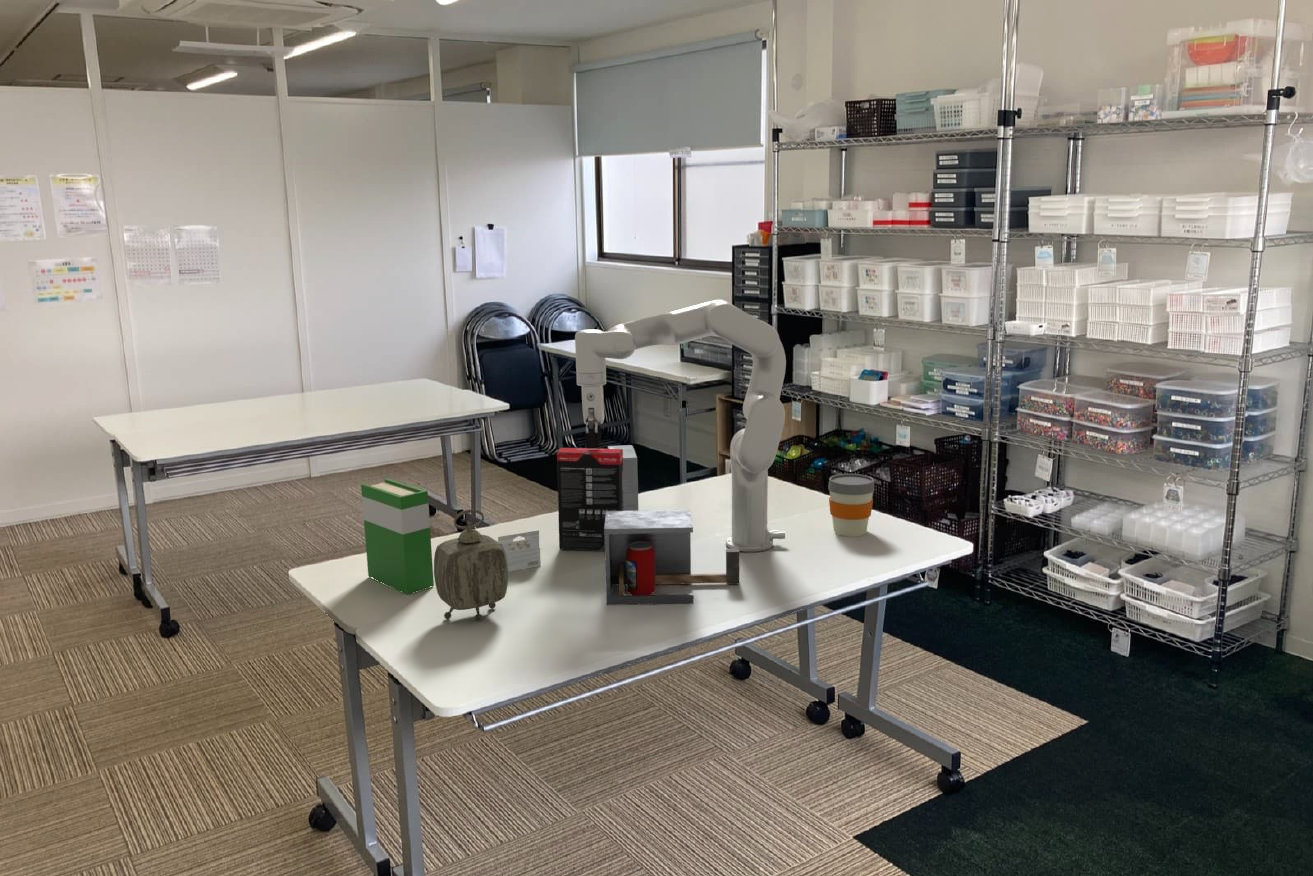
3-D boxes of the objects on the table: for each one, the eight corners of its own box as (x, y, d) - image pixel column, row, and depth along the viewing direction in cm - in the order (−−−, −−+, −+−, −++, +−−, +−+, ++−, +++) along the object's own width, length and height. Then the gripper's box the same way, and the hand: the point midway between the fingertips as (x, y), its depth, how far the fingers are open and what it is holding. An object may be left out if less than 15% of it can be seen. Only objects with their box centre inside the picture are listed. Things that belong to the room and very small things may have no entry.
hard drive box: (609, 510, 312) (607, 445, 307) (634, 509, 312) (633, 444, 308) (613, 525, 297) (611, 457, 292) (639, 524, 297) (638, 456, 293)
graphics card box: (626, 544, 280) (623, 446, 274) (622, 553, 273) (620, 452, 267) (563, 543, 281) (559, 445, 275) (558, 551, 275) (554, 451, 269)
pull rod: (738, 580, 250) (738, 548, 248) (742, 597, 239) (742, 564, 238) (620, 582, 250) (619, 550, 248) (619, 599, 239) (618, 566, 237)
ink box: (496, 571, 261) (494, 534, 259) (537, 564, 266) (536, 527, 264) (499, 574, 259) (497, 537, 257) (541, 566, 264) (539, 530, 262)
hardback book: (368, 577, 258) (360, 484, 252) (394, 570, 263) (387, 478, 258) (407, 595, 246) (400, 497, 240) (433, 586, 251) (427, 491, 245)
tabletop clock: (496, 604, 238) (491, 500, 233) (513, 617, 231) (508, 509, 226) (436, 618, 231) (429, 511, 225) (452, 632, 223) (445, 521, 218)
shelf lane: (690, 581, 251) (690, 509, 247) (693, 603, 237) (692, 527, 233) (608, 583, 251) (606, 511, 247) (606, 605, 237) (604, 529, 233)
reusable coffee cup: (838, 540, 280) (839, 486, 277) (820, 526, 292) (821, 475, 289) (880, 536, 283) (882, 483, 280) (861, 523, 295) (863, 472, 292)
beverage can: (626, 589, 247) (624, 541, 244) (654, 587, 248) (653, 539, 245) (627, 599, 240) (626, 550, 238) (656, 598, 241) (655, 548, 238)
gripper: (604, 383, 255) (606, 451, 259) (607, 372, 272) (609, 436, 276) (573, 384, 255) (576, 452, 259) (579, 373, 272) (581, 437, 276)
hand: (593, 443), depth 267 cm, fingers open, 9 cm apart
